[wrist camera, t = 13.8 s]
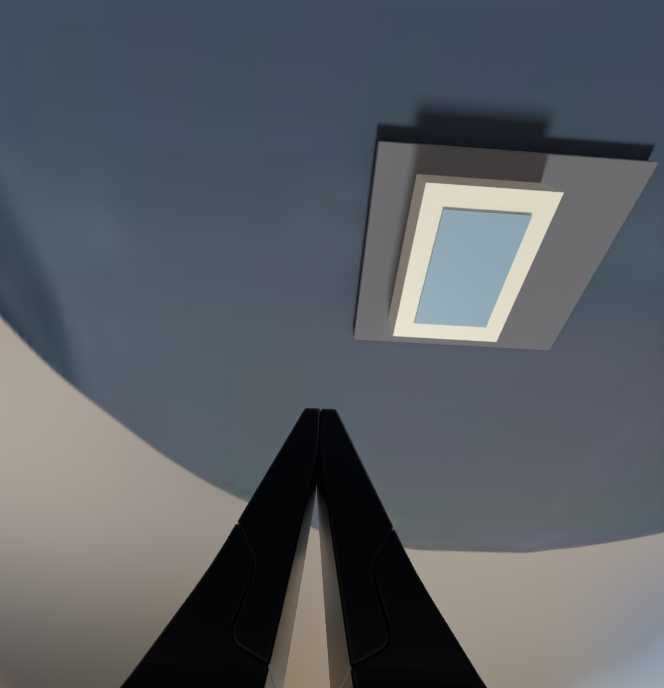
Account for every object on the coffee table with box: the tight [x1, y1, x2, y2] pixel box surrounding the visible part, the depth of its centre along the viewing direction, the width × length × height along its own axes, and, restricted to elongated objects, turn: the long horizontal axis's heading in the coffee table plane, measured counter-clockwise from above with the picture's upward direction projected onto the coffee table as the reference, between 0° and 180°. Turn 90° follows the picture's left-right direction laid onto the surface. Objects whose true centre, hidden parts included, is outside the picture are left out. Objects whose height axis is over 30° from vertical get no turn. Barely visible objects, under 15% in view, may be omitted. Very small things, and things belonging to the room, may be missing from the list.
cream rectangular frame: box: [388, 174, 564, 342], centre depth 17 cm, size 8×2×6 cm
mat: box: [354, 140, 658, 350], centre depth 18 cm, size 13×11×1 cm
